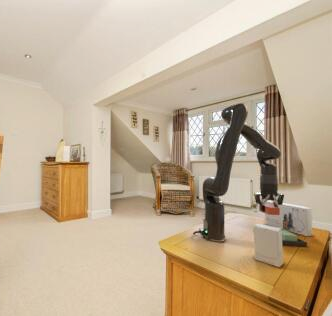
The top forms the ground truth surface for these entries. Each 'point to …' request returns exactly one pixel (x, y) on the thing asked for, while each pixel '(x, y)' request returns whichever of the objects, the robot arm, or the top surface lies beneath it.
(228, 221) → the top surface
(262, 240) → the cosmetic box
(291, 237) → the sage pad
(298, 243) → the frame
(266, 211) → the terracotta pad
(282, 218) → the skincare box
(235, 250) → the top surface
